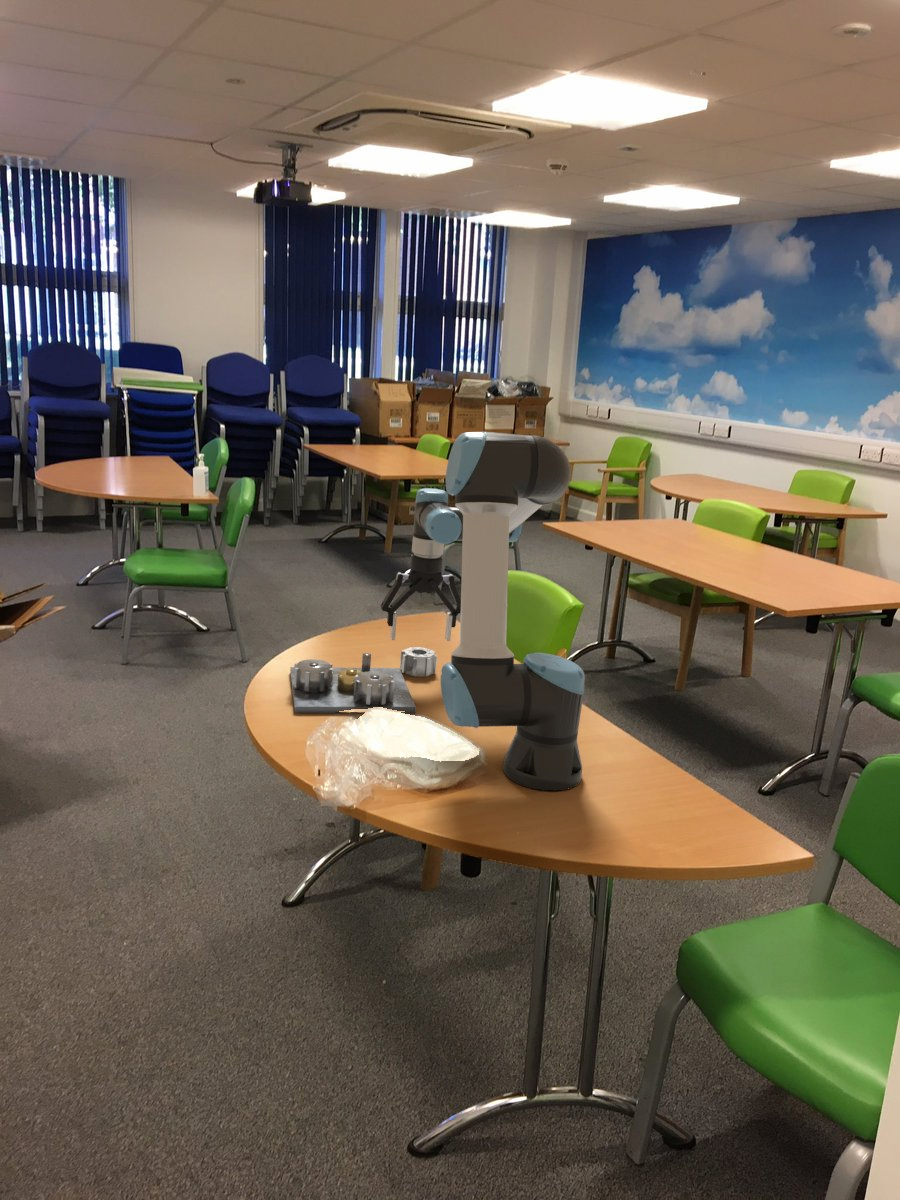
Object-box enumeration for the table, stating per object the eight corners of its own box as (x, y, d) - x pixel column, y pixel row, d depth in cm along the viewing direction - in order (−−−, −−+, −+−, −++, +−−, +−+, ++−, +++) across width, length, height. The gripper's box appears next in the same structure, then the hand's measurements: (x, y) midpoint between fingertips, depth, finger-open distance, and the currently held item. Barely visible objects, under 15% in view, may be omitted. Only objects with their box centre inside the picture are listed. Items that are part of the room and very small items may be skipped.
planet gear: (437, 677, 225) (439, 658, 224) (403, 677, 223) (404, 657, 222) (431, 665, 233) (433, 646, 232) (398, 665, 231) (399, 646, 230)
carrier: (415, 713, 203) (417, 684, 201) (294, 713, 197) (296, 683, 195) (398, 674, 225) (400, 647, 223) (290, 673, 220) (291, 645, 218)
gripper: (474, 552, 226) (466, 634, 232) (373, 548, 221) (367, 633, 227) (481, 560, 219) (473, 644, 225) (377, 556, 214) (371, 643, 220)
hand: (420, 639), depth 226 cm, fingers open, 13 cm apart
